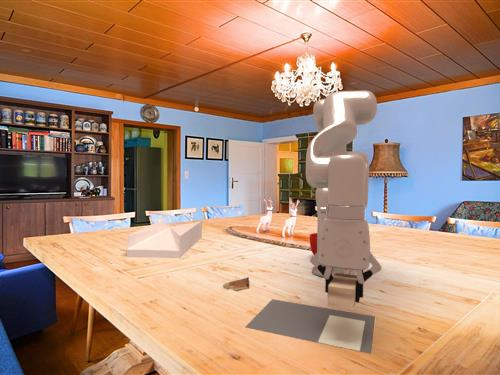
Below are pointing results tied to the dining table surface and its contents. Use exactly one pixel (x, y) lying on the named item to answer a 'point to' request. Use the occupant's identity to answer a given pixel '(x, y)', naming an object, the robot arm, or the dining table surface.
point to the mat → (316, 325)
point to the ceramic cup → (313, 243)
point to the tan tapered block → (342, 291)
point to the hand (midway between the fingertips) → (343, 297)
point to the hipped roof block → (163, 240)
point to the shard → (238, 284)
